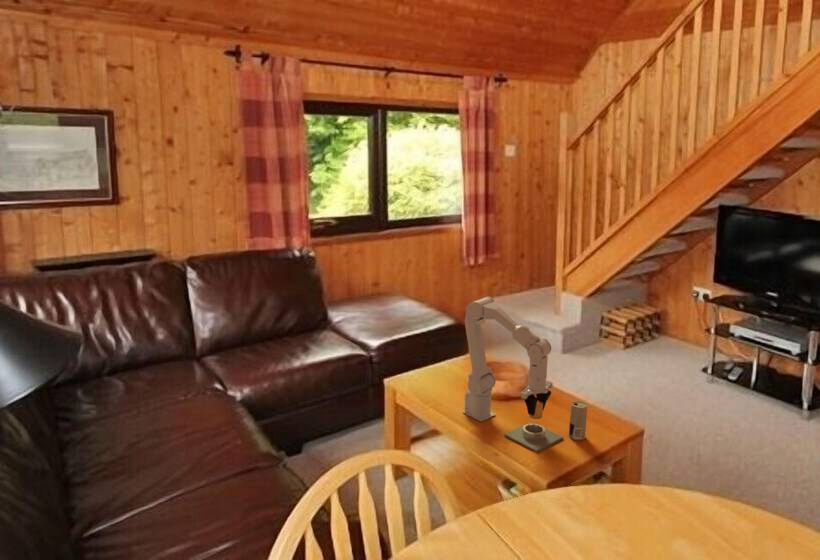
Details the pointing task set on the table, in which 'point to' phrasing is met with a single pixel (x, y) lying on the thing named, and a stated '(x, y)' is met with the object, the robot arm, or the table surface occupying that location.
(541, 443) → the gray board
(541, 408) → the orange rounded capsule
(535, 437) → the segmented brown ring
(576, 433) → the energy drink
